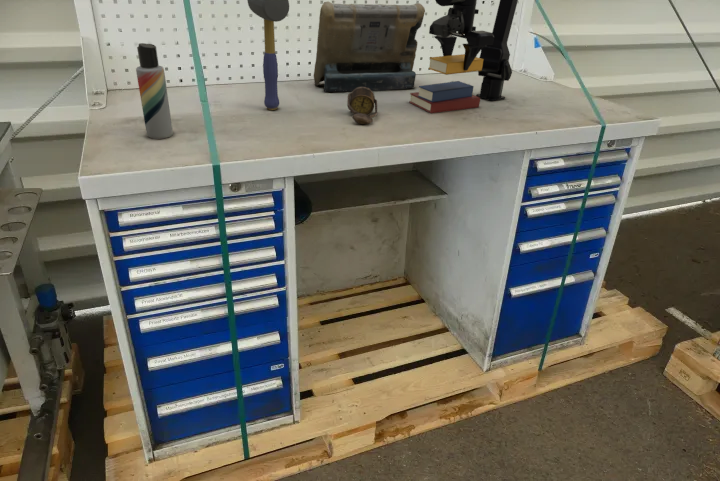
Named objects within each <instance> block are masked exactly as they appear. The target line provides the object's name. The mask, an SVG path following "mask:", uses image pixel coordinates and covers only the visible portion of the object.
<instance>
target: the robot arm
mask: <svg viewBox="0 0 720 481" xmlns="http://www.w3.org/2000/svg"><path fill="white" fill-rule="evenodd" d="M477 1H478V0H435V2H436V4H437V5H438V6H441V7H449V8H448V10H447V14H446V15H443V16H441V17H439V18H437V19H435V20H434V21H432V23H431V24H430V25H429V28H428V34H429V35H433V36H434V37H433V38H434V39H436V40H437V41H438V43H439V45H440V47H441V52H442V56H451V55H453V53H454V48H455V46H456V41H457V39H458V38H461V39H465V40H466V42H467V43H462V46H463V48H464V54H465V57H464V68H463V70H464V71H466V70H468V68H469V67H470V65H471V63H472V62H473V60H474V59H475V57H477V56H478V54H479V57H478V58H481V59H484V60H483V66H482V71H477V75H478V76H479V77H482V82H481V85H480V91H479V93H476V95H475V96H477V97H480V99H481V98H482V99H484V100H487V101H490V102H493V101H499V100H505V99H506V96H503V95H502V94H503V89H504V84H505V82H507V81H510V79H511V77H512V74H513V70H512V66H511V64H510V56H511V53H510V50H509V46H508V41H509V36H510V33H511V30H512V25H513V21H514V17H515V13H516V9H517V5H518V2H519V0H499V3H498V8H497V12H496V16H495V19H494V22H493V23H494V24H493V28H492V32H491V31H486V30H477V26H474V21H475V15H479V12H480V11H479V9H478V8H477ZM450 6H451V7H450ZM457 37H458V38H457Z"/></svg>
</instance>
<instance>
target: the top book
mask: <svg viewBox="0 0 720 481" xmlns="http://www.w3.org/2000/svg"><path fill="white" fill-rule="evenodd" d="M464 57H465V53H461V54H452V55H451V56H443V55H441V56H430V57H429V67H428V70H431V71H433V72H436V73H440V74H443V75H446V76H447V75H456V74H464V73H465V74H466V73H473V72H478V71H482V66H483V60H484V59H481V58H479V57H477V56H476V57H475V59H474V60H473V62H472V63H471V65H470V67H469V68H468V70H466V71H464V70H463V68H464Z"/></svg>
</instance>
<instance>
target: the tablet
mask: <svg viewBox="0 0 720 481" xmlns="http://www.w3.org/2000/svg"><path fill="white" fill-rule="evenodd" d="M425 14H426V9H425V6H424V5H423V4H422V3H419V2H417V3H413V4H383V3H382V4H381V3H378V4H374V3H373V4H369V3H368V4H367V3H365V4H364V3H349V4H347V3H332V2H330V1H323V3H322V5H321V7H320V10H319V17H318V20H319V21H318V29H317V42H316V56H315V62H314V68H313V69H314V71H313V80H314V85H315V86H319V85H320V83H322V82H324V84H323V92H324V93H331V92H332V93H333V92H352V91H353V90H354V89H356V88H358V87H367V88H369V89H371V91H372V92H373V91H392V90H407V89H415V88H416V87H415V83H416V76H417V73H416V71H414V70H413V69H414V66H415V60H416V55H417V54H416V53H417V51H418V50H417V49H418V40H417V39H416V36H417V33H418V30H419V29H420V28H421V27H422V24H423V21H424V16H425Z"/></svg>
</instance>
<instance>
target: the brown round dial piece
mask: <svg viewBox="0 0 720 481" xmlns="http://www.w3.org/2000/svg"><path fill="white" fill-rule="evenodd" d="M346 105H347V109H348V111H349V112H351V113H352V116H351V117H352V119H353V121H354V122H355V123H357V124H360V125H368V124H372V123H373V118H374V117H376V116H377V114H378V100H377V99H376V96H375V94H374V92H373V91H371V89H369V88H367V87H358V88H356V89H354V90H353V91H350V92H349V93H348V94H347V101H346ZM373 111H374V113H372V112H373Z"/></svg>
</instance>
